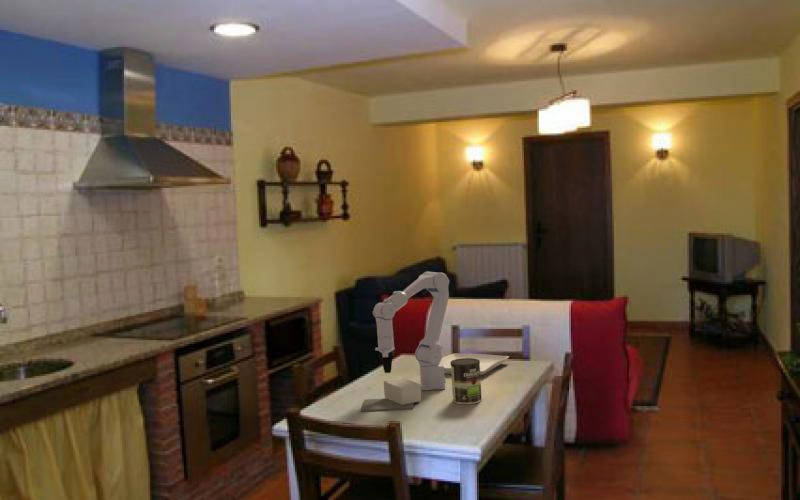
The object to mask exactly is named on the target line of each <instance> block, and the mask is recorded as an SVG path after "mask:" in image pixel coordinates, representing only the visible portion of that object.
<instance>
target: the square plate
mask: <svg viewBox="0 0 800 500" xmlns="http://www.w3.org/2000/svg"><path fill="white" fill-rule="evenodd" d="M462 358H473V359H478V360H480V376H482V375H484V374H485V375H486V374H487V373H488V372H490V371H491V370H493V369H495V368H497V367H499V366H501V365H502V364H504V363H505V362H506V361H508V359H509V358H510V356H509V355H495V354H485V353H483V354H481V353H450V354H449V355H446V356H444V357H442V359H441V361H440V363H439V364H444V375H452V374H451V364H450V362H451V361H452V360H455V359H462Z"/></svg>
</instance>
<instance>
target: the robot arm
mask: <svg viewBox="0 0 800 500" xmlns="http://www.w3.org/2000/svg"><path fill="white" fill-rule="evenodd" d="M449 285H450V279H449V277H448V276H447V274H446V273H444V272H436V271H435V272H434V271H428V270H427V271H424V272H423V273H422V274H420V275H419V276H418V278H417V279H416V280H414V281H413V282H412V283H410V284H409V285H408V286H407V287H405V288H404V289H403V290H402V291H401V290H397V291H396V290H395V291H393V292H392V295H390V296H389V297H388V298H384V299H383V301H382V302H378V303H376V304H375V305H374V307H373V311H371V312H372V315H373V317H374V318H375V322H376V334H377V345H378V346H377V347H375V349H374V350H375V351H378V352H379V353H378V357H379V359H380V361H381V364H382V368H383V371H384V373H385V374H391V372H392V367H393V366H392V365H393V359H394V357H395V351H394V350H396V349H395V343H394V327H393V319H394V317H395V314H396V312H398V311H399V310H400V309H401V308H403V307H404V306H405V305H407V304H408V300H409V299H410V298H411V297H412V296H414V295H416V294H417V293H419V292H420V291H422V290H424V289H426V290H427V291H428V292H429V293H430V294H431V296H432V297H433V301H432V304H431V308H430V314H429V317H428V322H427V326H426V330H425V334H424V338H422V339H421V340H420V341H419V343H418V344H419V345H418V346H417V348H415V352H414V356H415V359H416V360H417V362H418V365H419V375H420V377H419V378H420V383H419V384H420V387H421V391H431V390H432V391H433V390H445V389H446V378H445V374H444V364H439V363H440V361H441V359H442V358H443V354H442V353H443V352H442V350H443V346H442V344H441V342H440V336H441V332H442V329H443V324H444V319H445V316H446V311H447V307H448V302H449V297H450V293H449Z"/></svg>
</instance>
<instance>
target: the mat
mask: <svg viewBox="0 0 800 500" xmlns="http://www.w3.org/2000/svg"><path fill="white" fill-rule="evenodd" d="M414 405H415V404H414V403H410V404H405V405H401V404H398V403H396V402H394V401H391V400H389V399H386V398H385V397H384V398H369V399H364V400H363V403H362V406H361V408H360V412H361V413H364V412H365V413H367V412H385V411H402V410H403V411H404V410H413V409H414Z"/></svg>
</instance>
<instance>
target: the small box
mask: <svg viewBox="0 0 800 500" xmlns="http://www.w3.org/2000/svg"><path fill="white" fill-rule="evenodd" d="M420 384H421V383H419V382H415V381H413V380H410V379H407V378H405V377H397V378H393V379H392V378H391V379H388V380H383V394H384V399H385V398H386V399H389V400H391V401H394V402H396V403H398V404H401V405H405V404H410V403H419V402H422V390H421V387H420Z"/></svg>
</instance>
